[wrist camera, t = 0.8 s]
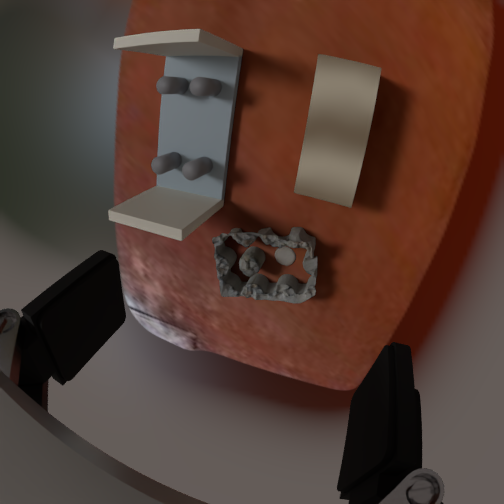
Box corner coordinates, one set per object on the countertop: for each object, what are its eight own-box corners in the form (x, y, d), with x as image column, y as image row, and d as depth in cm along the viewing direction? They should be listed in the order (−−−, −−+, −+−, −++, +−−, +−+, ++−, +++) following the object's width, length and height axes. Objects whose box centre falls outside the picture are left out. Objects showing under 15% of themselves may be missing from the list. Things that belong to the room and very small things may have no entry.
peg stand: (171, 48, 25) (114, 38, 18) (243, 48, 24) (200, 28, 16) (160, 192, 34) (109, 219, 26) (223, 206, 32) (181, 240, 24)
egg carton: (319, 224, 30) (315, 241, 26) (318, 288, 33) (314, 309, 30) (220, 222, 33) (205, 236, 30) (229, 281, 36) (215, 300, 33)
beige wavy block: (322, 61, 23) (318, 54, 19) (376, 74, 22) (381, 68, 18) (301, 182, 29) (293, 192, 25) (351, 195, 28) (351, 207, 24)
